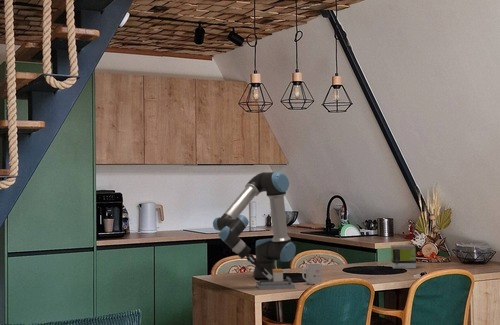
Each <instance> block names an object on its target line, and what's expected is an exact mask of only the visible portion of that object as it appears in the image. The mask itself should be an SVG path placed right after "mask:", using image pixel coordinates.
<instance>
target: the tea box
mask: <svg viewBox="0 0 500 325" xmlns="http://www.w3.org/2000/svg"><path fill="white" fill-rule="evenodd" d="M390 249H391V257H390V258H391V267H392V269H417V256H416V255H417V254H416V253H417V251H416V250H417V249H416V245H414V244H391V245H390Z"/></svg>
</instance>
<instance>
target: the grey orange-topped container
mask: <svg viewBox="0 0 500 325" xmlns="http://www.w3.org/2000/svg"><path fill="white" fill-rule="evenodd" d="M283 279H284V269H282V268H276V269H273V278H272V280H273V282H280V281H283Z"/></svg>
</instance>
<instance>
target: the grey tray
mask: <svg viewBox="0 0 500 325" xmlns="http://www.w3.org/2000/svg"><path fill="white" fill-rule="evenodd" d="M255 286H256V288H257V289H258V290H260V291H261V289H263V290H287V289H289V290H290V289H291V290H292V288H293V289H296V284H295V283H294V282H292V278H290V277H289V276H285V279H284V278H283V281H280V282H273V279H271V280H269V279H259V281H257V282H255Z"/></svg>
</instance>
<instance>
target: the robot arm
mask: <svg viewBox="0 0 500 325" xmlns="http://www.w3.org/2000/svg"><path fill="white" fill-rule="evenodd" d="M289 186H290V181H289V177H288V176H287V175H286V174H285V173H283V172H280V171H279V172H278V171H273V172H271V171H269V172H265V171H264V172H262V171H261V172H260V173H257V174H255V176H253V177H252V178H251V179H249V181H248V182H247V183H246V184H245V186H244V187H245V188H244V189H243V190H242V191H241V193H239V195H238V196H237V197H236V199H235V200H234V201H233V202H232V203H231V204H230V206H229V207H228V208H227V209H226V210H225V211H224V213H223V214H222V215H221V216H220V217H215V218H214V220H213V221H212V226H213V228H214V230H215V231H218V234H217V235H218V237H219V239H220V240H222V242H224V243H225V244H226V245H227V246H228V247H229V248H230V249H231V250H232V252H234V253H235V254H237V256H238V257H239V258H240V259H244V258H245V257H246V260H247V262H249V263H251V265H253V266H254V269H253V274H252V276H253V278H257V279H258V278H259V279H267V280H273V269H277V267H276V262H277V261H278V262H283V263H284V262H290V261H292V260H293V258H294V256H295V255H296V250H297V249H296V247H297V246H296V244H294V242H292V240H291V239H292V238H291V237H290V236H289V234H288V226H287V216H286V208H285V206H286V205H285V195H286V194H287V191H288V189H289ZM262 192H266V197H268V199H269V205H270V206H269V207H270V214H271V223H272V233H273V235H272V236H273V237H272V238H263V239H258V240H256V241H255V256H254V255H253V254H252V253H250V252H251V248H250V246H248V244H246V242H244V240H242V238H241V237H240V235H241V234H242V233H243V231H245V229H246V228H247V227H248V226H249V219H248V218H247V217H246V216H245V215H242V214H241V213H243V211H244V210H245V209H246V208H247V207H248V205H249V204H250V203H251V201H253V199H254V198H255V197H258V196H259V195H260V194H261V193H262ZM275 261H276V262H275Z"/></svg>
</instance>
